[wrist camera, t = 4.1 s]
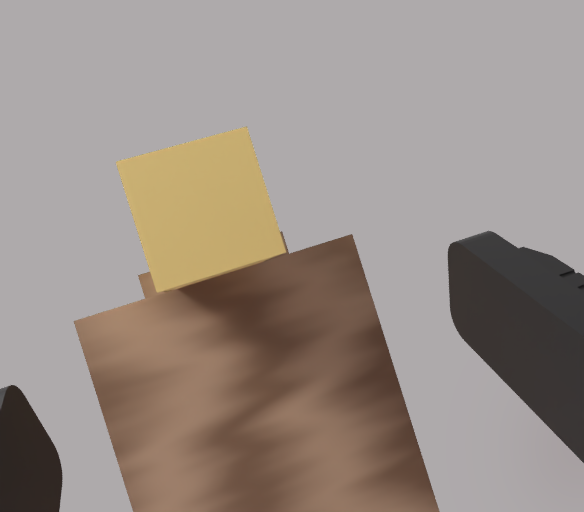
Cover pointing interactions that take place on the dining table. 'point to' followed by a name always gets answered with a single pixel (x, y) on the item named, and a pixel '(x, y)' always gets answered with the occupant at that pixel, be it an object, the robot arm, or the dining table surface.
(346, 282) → the stand
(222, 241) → the bar
